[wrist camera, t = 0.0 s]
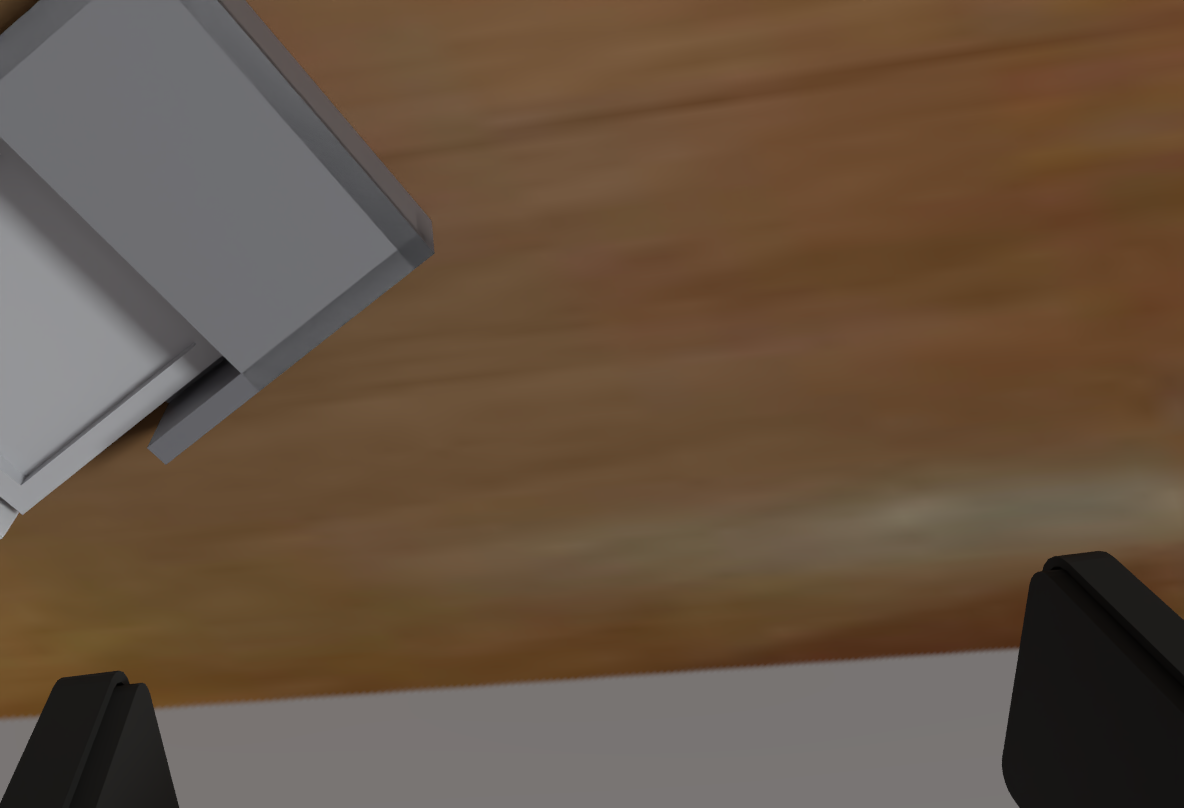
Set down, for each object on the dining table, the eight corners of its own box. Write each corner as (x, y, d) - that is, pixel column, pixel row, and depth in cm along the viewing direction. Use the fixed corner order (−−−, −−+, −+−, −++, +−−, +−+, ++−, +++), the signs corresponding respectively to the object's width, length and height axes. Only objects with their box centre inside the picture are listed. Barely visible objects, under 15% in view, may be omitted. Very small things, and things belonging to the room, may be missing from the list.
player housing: (-98, 146, 42) (-158, 174, 38) (170, -88, 40) (140, -89, 36) (188, 413, 48) (165, 464, 44) (431, 220, 46) (434, 253, 42)
